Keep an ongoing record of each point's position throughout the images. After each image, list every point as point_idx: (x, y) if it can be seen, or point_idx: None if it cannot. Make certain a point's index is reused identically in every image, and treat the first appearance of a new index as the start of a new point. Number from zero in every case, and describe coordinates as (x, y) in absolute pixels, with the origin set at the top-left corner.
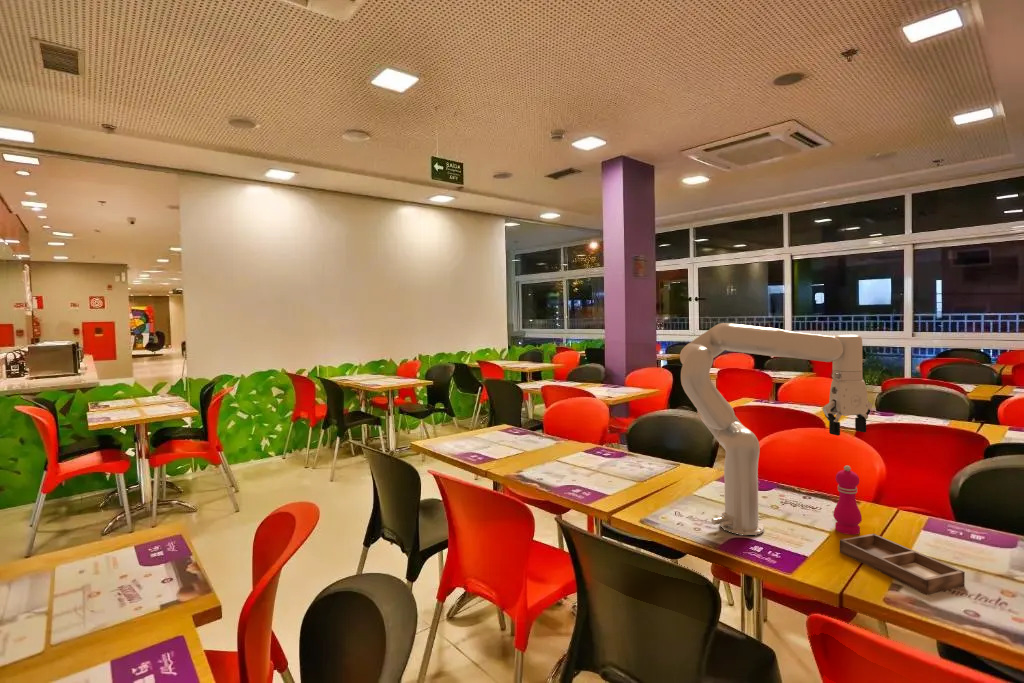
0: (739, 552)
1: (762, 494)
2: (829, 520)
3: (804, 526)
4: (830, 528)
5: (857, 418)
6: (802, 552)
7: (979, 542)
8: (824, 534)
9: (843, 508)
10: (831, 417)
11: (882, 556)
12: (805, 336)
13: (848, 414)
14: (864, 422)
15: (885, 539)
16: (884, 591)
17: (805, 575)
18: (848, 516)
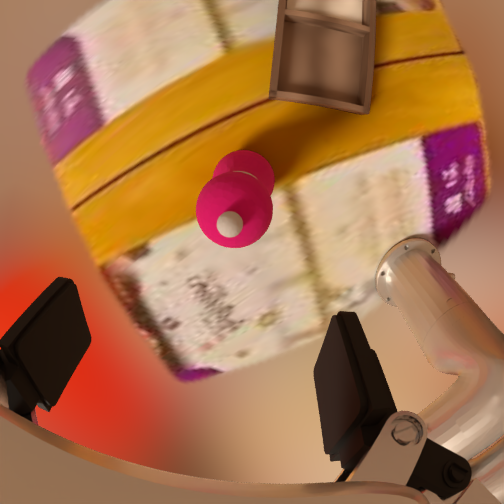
0: (477, 207)
1: (235, 361)
2: None
3: (307, 229)
4: None
5: (42, 397)
6: (415, 151)
7: (80, 57)
8: (308, 182)
9: (266, 179)
10: (442, 457)
11: (316, 54)
12: None
13: (319, 501)
14: (25, 330)
15: (278, 65)
16: (412, 13)
17: (467, 105)
18: (266, 163)
